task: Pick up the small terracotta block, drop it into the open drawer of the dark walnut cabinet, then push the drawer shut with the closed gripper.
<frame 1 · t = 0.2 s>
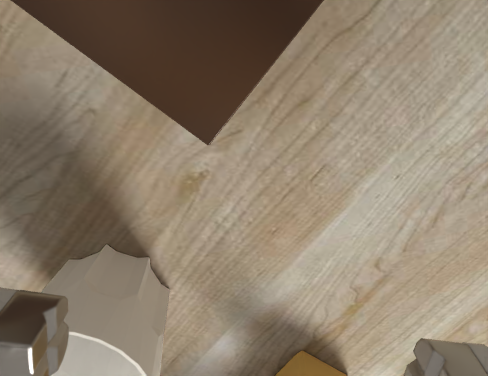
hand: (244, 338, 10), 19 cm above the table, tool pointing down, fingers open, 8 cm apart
cup: (115, 289, 33), on the table
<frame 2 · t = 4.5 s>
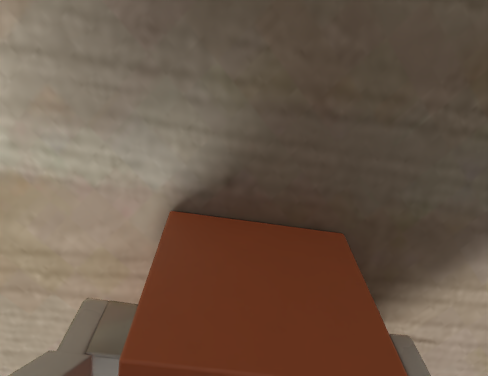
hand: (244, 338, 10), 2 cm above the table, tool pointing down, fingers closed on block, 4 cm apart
block: (244, 292, 11), on the table, touching gripper
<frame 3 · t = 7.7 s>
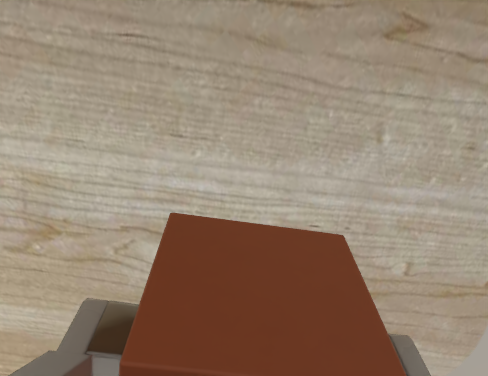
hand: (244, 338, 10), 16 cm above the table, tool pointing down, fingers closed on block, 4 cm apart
block: (244, 294, 11), point 14 cm above the table, touching gripper
when the fingers open (11 cm above the table, at t = 10.9 s): block drops 7 cm, resting on drawer.
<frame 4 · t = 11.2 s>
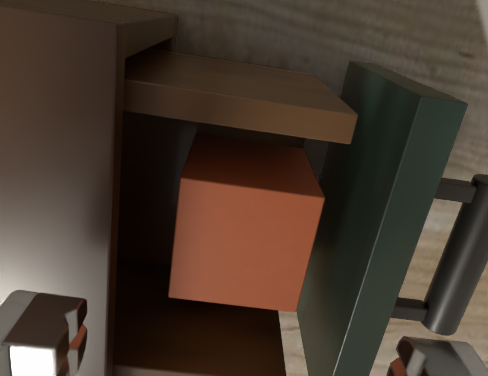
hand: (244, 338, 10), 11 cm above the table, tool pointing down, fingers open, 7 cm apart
cabinet: (2, 138, 19), on the table
block: (242, 189, 18), point 2 cm above the table, touching drawer
drawer: (241, 216, 15), point 5 cm above the table, slide at 7.0 cm, touching block
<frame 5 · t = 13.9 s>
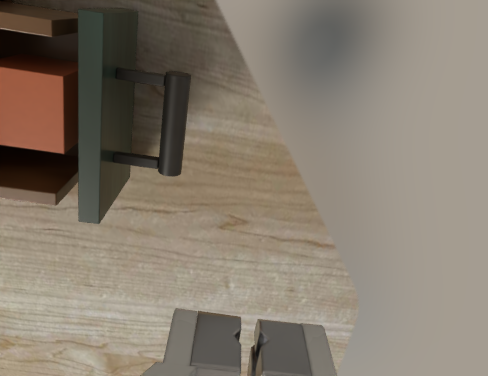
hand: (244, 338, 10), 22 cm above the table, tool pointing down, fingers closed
block: (58, 93, 27), point 2 cm above the table, touching drawer
drawer: (40, 101, 25), point 5 cm above the table, slide at 7.0 cm, touching block
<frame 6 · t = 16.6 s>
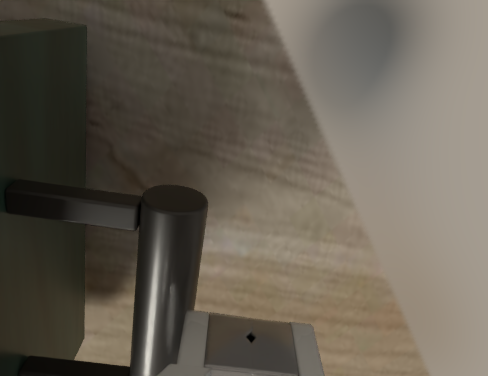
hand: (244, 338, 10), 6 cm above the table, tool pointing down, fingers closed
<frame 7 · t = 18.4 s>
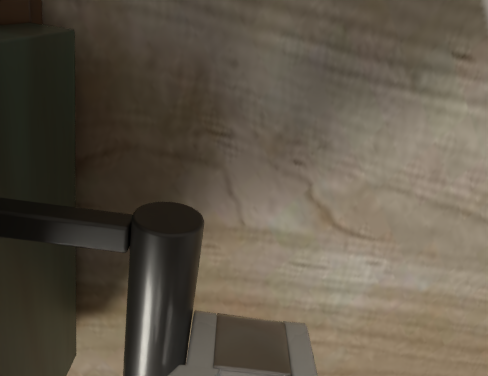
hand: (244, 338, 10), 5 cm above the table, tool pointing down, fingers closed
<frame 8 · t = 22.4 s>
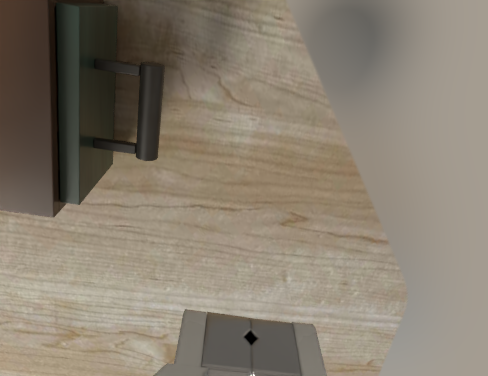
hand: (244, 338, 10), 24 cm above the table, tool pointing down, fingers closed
cabinet: (0, 70, 31), on the table
drawer: (24, 90, 27), point 5 cm above the table, slide at 0.0 cm, touching block, cabinet
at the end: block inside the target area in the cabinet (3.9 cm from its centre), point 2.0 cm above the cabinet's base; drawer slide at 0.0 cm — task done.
